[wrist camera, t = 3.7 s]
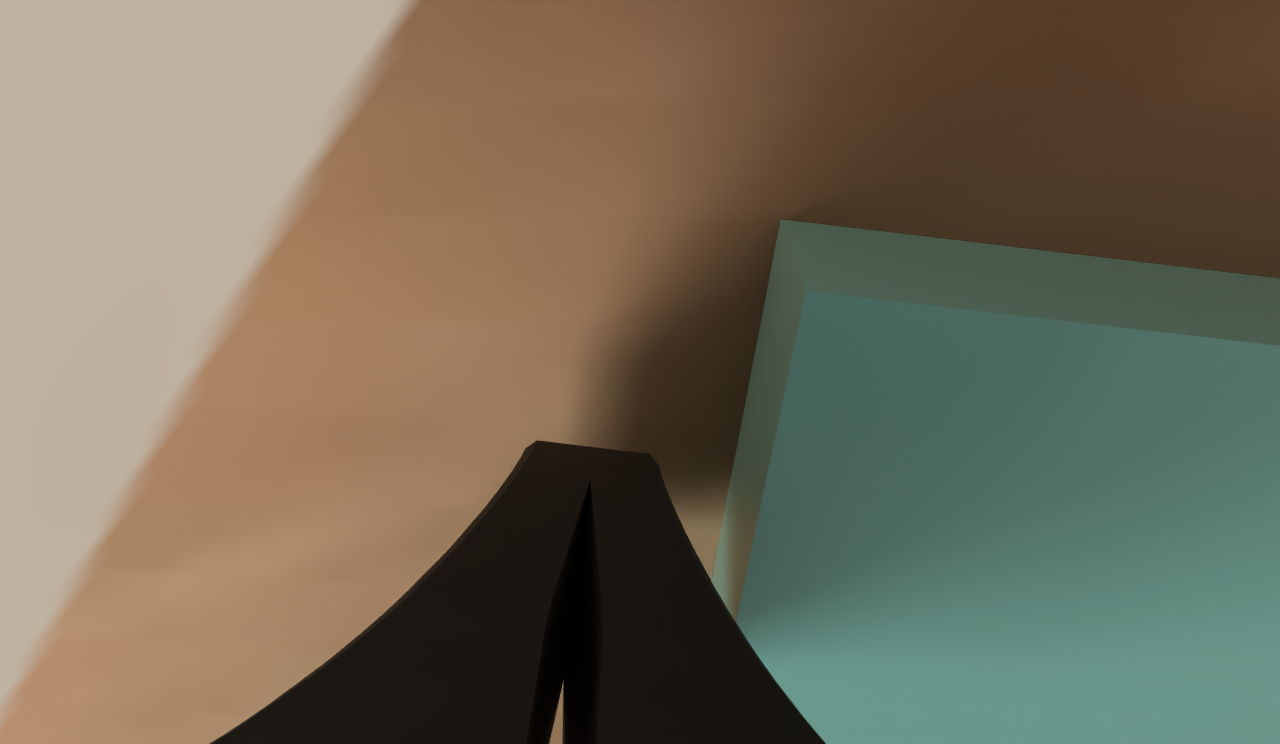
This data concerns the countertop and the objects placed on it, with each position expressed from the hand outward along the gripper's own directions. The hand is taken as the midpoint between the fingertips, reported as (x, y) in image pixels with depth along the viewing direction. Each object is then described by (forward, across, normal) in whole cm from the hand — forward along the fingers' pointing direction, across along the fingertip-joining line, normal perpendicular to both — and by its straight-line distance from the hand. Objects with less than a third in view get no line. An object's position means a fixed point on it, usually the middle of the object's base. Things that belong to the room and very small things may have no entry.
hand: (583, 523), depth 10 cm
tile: (+2, -7, 0) cm, 7 cm away
